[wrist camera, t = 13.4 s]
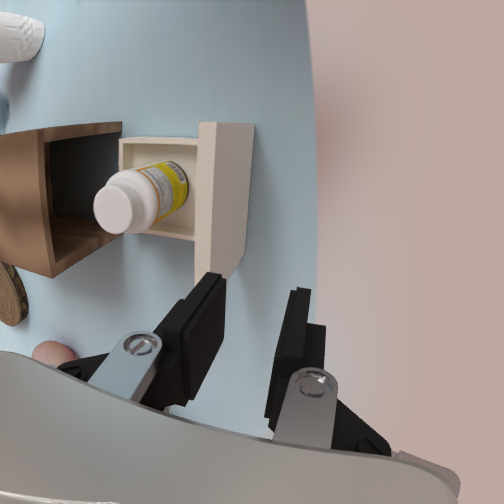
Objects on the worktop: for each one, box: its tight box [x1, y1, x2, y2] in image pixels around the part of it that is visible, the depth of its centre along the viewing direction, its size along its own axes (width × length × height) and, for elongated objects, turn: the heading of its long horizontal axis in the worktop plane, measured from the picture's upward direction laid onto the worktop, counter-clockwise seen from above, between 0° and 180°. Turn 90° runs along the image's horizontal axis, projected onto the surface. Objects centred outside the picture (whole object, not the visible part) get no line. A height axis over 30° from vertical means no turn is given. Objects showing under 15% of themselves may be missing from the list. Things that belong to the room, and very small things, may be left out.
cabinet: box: [0, 121, 124, 279], centre depth 30 cm, size 14×14×13 cm
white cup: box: [0, 11, 45, 63], centre depth 25 cm, size 8×8×10 cm
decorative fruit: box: [32, 341, 76, 368], centre depth 45 cm, size 9×8×10 cm
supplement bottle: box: [94, 160, 190, 234], centre depth 28 cm, size 6×6×10 cm
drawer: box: [119, 122, 255, 286], centre depth 28 cm, size 14×14×11 cm
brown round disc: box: [0, 261, 29, 326], centre depth 48 cm, size 16×16×3 cm
